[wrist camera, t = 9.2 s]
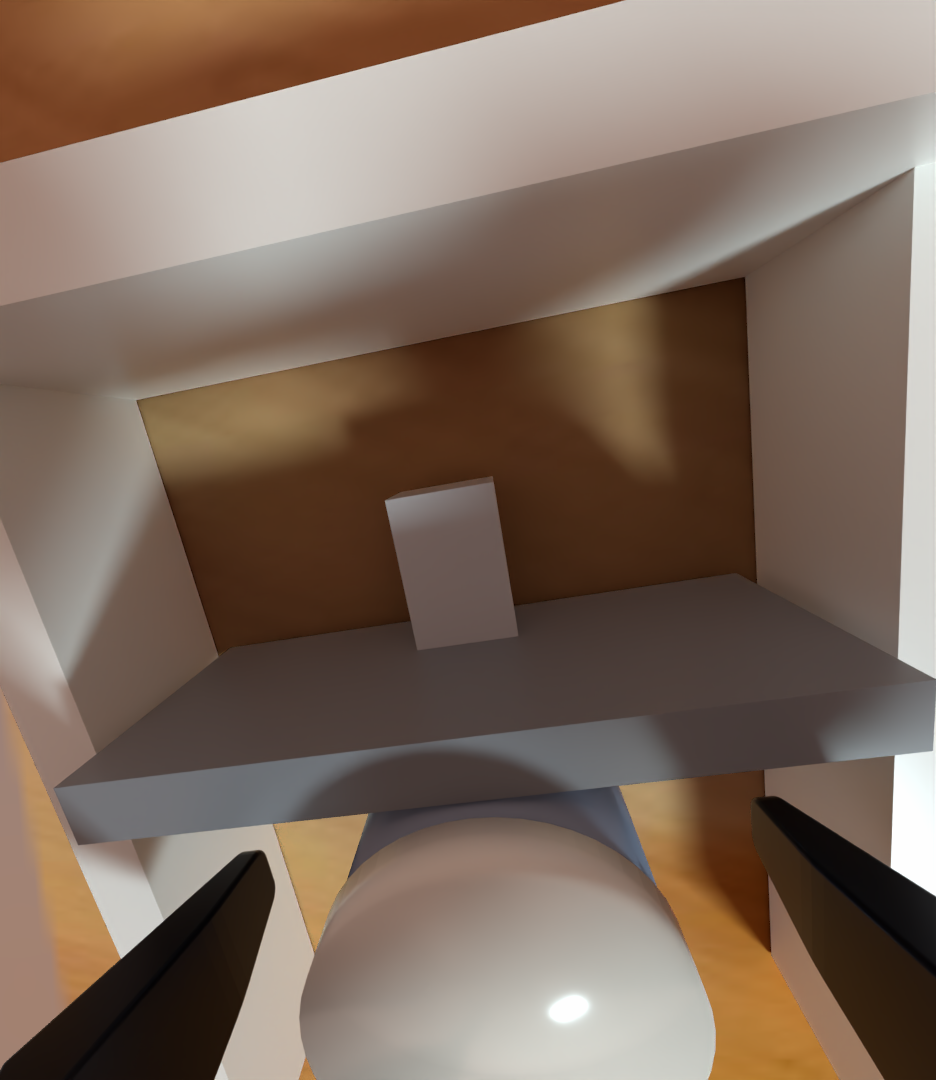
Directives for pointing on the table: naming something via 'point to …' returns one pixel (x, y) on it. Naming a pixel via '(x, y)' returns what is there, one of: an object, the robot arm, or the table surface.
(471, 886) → the jar
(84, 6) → the table surface
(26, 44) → the table surface
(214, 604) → the table surface
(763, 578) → the lane
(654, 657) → the pusher
